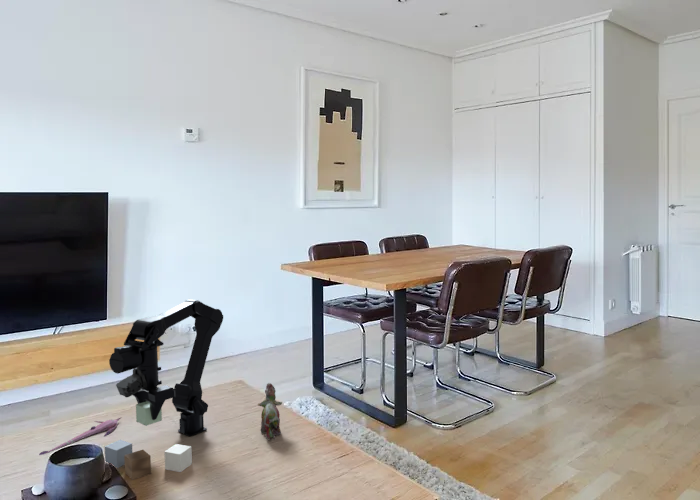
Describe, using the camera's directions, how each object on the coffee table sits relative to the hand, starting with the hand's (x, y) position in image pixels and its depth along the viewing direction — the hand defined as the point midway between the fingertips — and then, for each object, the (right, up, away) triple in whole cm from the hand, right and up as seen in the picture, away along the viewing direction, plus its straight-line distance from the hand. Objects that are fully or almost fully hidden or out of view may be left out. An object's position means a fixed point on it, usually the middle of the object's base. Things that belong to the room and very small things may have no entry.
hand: (149, 417), depth 159 cm
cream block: (+11, -11, -8) cm, 17 cm away
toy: (-24, -10, +11) cm, 28 cm away
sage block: (0, -1, 0) cm, 1 cm away
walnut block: (+1, -11, -12) cm, 16 cm away
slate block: (-6, -11, -5) cm, 14 cm away
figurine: (+32, -9, +13) cm, 36 cm away
